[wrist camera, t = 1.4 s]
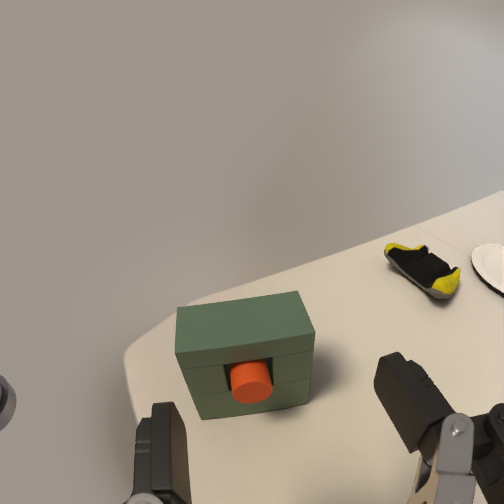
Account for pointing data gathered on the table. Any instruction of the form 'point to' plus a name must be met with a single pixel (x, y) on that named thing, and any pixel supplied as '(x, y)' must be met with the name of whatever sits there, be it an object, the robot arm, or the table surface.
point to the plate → (490, 264)
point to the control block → (245, 351)
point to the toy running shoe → (424, 269)
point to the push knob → (250, 381)
